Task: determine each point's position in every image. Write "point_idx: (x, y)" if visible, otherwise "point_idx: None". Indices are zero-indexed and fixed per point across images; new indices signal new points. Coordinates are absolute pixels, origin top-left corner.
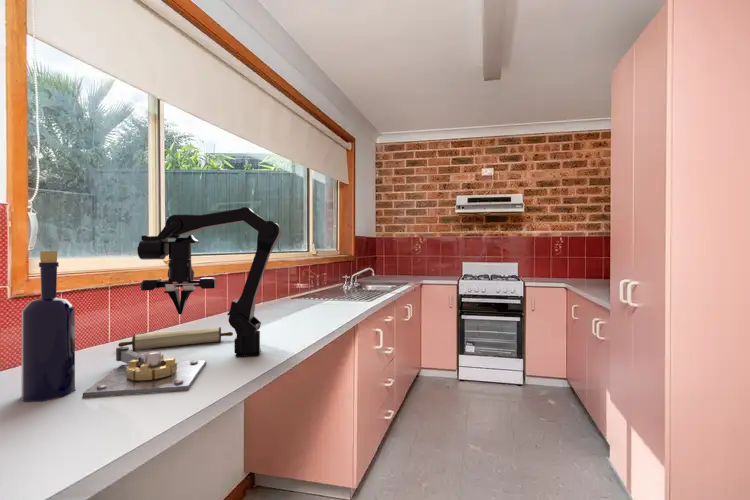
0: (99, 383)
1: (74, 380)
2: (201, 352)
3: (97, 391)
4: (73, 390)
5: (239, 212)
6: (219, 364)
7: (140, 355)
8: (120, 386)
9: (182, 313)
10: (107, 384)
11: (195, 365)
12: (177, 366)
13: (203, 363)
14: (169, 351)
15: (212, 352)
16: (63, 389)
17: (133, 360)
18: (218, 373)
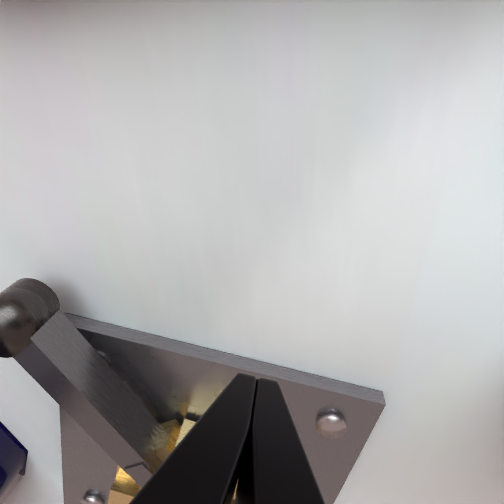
0: (72, 473)
1: (6, 478)
2: (403, 176)
3: None
4: (24, 455)
5: None
6: (430, 417)
7: (121, 447)
8: None
9: (277, 389)
10: (97, 487)
11: (333, 447)
12: None
13: (365, 439)
14: (213, 53)
15: (465, 206)
16: (10, 491)
17: (119, 499)
18: (397, 494)
